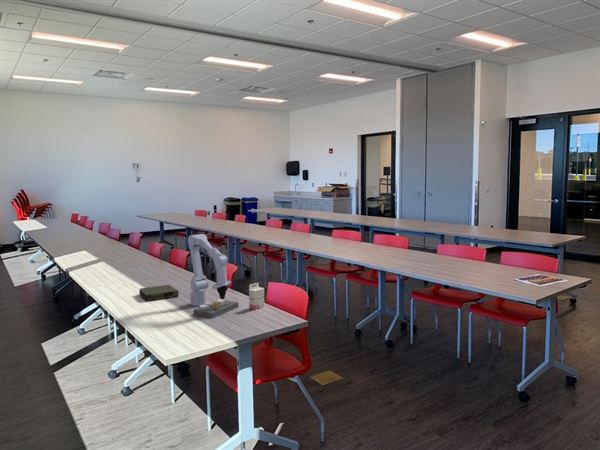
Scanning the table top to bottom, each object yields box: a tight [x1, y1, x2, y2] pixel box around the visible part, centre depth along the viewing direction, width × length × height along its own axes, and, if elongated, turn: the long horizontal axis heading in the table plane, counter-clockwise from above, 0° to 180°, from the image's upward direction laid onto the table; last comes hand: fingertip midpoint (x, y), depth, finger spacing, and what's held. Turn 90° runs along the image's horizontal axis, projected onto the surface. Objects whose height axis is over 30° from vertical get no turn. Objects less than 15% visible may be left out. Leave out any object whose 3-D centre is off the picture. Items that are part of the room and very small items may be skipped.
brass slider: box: [212, 300, 220, 309], centre depth 260 cm, size 3×3×4 cm
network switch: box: [139, 284, 179, 302], centre depth 303 cm, size 23×24×5 cm
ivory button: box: [215, 298, 226, 304], centre depth 274 cm, size 4×4×2 cm
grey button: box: [198, 305, 209, 310], centre depth 261 cm, size 4×4×2 cm
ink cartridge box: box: [248, 282, 265, 311], centre depth 270 cm, size 9×5×15 cm, turn 141°
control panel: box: [192, 299, 239, 319], centre depth 266 cm, size 14×24×3 cm, turn 150°
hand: (222, 298), depth 264 cm, fingers closed
